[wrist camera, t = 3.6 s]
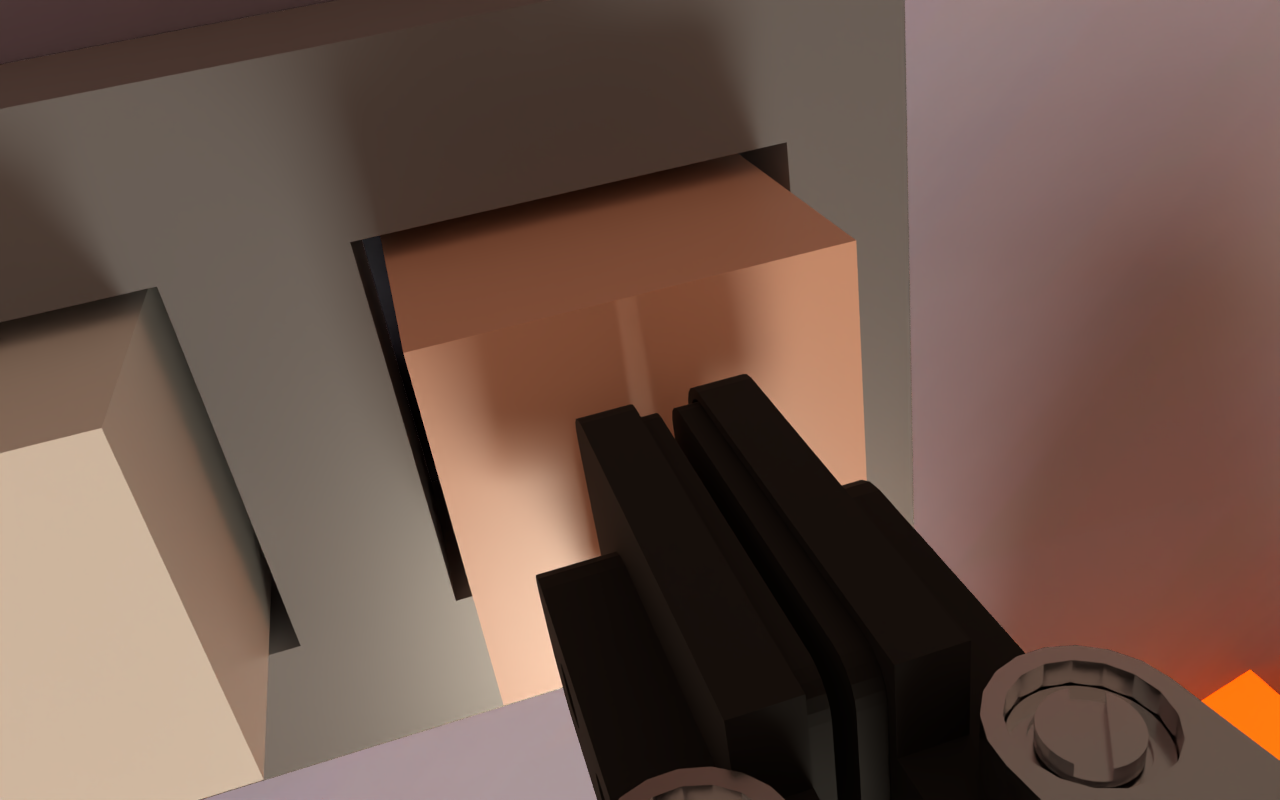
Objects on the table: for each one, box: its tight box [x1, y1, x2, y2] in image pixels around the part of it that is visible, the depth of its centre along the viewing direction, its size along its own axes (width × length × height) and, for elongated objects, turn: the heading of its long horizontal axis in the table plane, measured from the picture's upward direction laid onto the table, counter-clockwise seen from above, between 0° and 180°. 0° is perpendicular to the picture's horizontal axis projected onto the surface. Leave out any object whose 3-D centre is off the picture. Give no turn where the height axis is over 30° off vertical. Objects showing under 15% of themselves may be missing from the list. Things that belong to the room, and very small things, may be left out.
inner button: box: [380, 153, 867, 705], centre depth 13 cm, size 4×4×4 cm
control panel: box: [0, 0, 914, 800], centre depth 13 cm, size 22×9×3 cm, turn 98°
